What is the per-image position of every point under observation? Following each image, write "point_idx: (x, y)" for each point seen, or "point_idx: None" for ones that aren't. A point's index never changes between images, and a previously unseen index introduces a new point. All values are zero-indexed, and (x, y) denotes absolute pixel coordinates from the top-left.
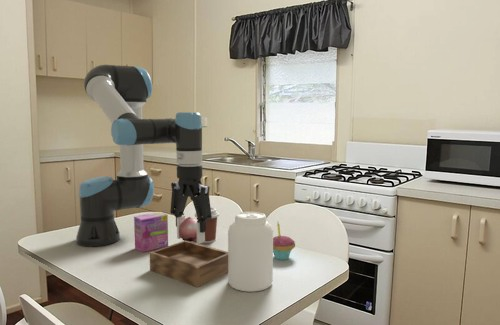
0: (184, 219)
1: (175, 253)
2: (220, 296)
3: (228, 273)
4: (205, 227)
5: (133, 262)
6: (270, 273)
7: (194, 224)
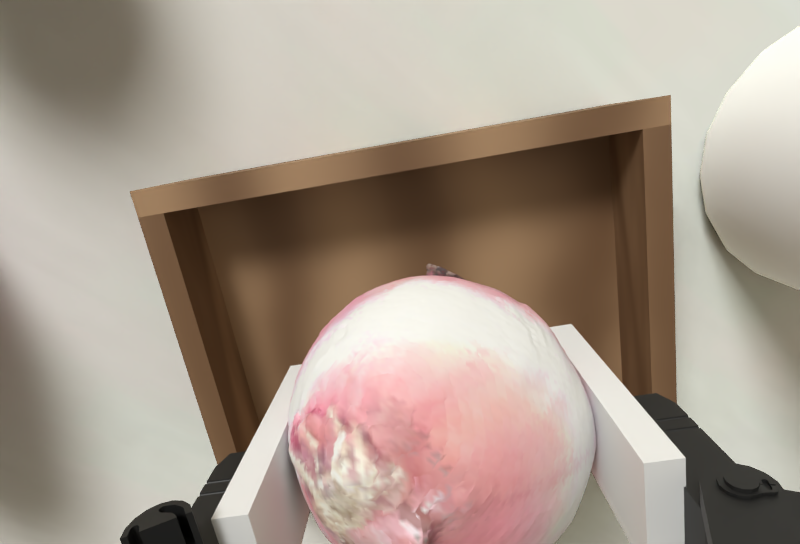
0: (267, 489)
1: (221, 298)
2: (787, 373)
3: (772, 273)
4: (695, 433)
5: (107, 450)
6: None
7: (563, 522)
